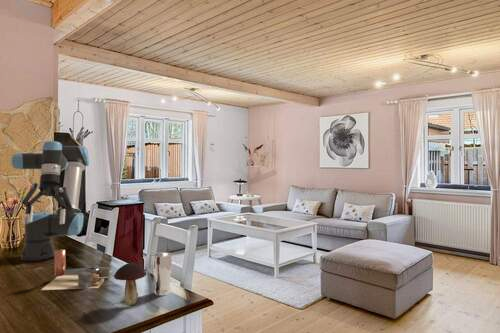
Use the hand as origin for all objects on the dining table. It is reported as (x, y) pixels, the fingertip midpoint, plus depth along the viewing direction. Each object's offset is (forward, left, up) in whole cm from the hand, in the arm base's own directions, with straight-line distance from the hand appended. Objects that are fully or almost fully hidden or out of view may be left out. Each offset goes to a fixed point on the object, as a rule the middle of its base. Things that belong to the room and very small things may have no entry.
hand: (46, 223), depth 148 cm
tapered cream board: (+7, +16, -24) cm, 30 cm away
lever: (+7, +17, -21) cm, 28 cm away
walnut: (+12, +23, -22) cm, 34 cm away
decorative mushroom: (+32, +41, -24) cm, 57 cm away
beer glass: (+22, +51, -24) cm, 61 cm away
